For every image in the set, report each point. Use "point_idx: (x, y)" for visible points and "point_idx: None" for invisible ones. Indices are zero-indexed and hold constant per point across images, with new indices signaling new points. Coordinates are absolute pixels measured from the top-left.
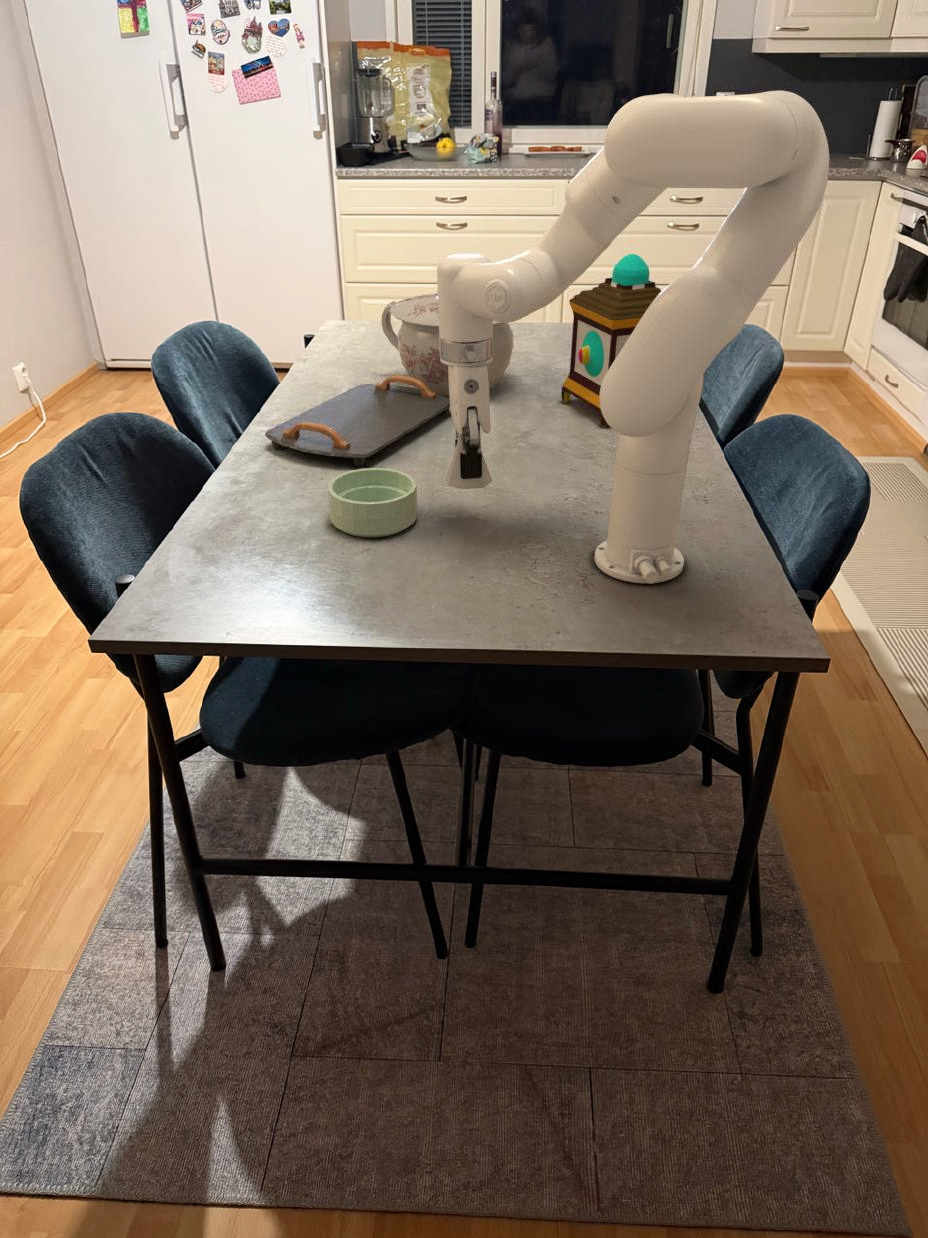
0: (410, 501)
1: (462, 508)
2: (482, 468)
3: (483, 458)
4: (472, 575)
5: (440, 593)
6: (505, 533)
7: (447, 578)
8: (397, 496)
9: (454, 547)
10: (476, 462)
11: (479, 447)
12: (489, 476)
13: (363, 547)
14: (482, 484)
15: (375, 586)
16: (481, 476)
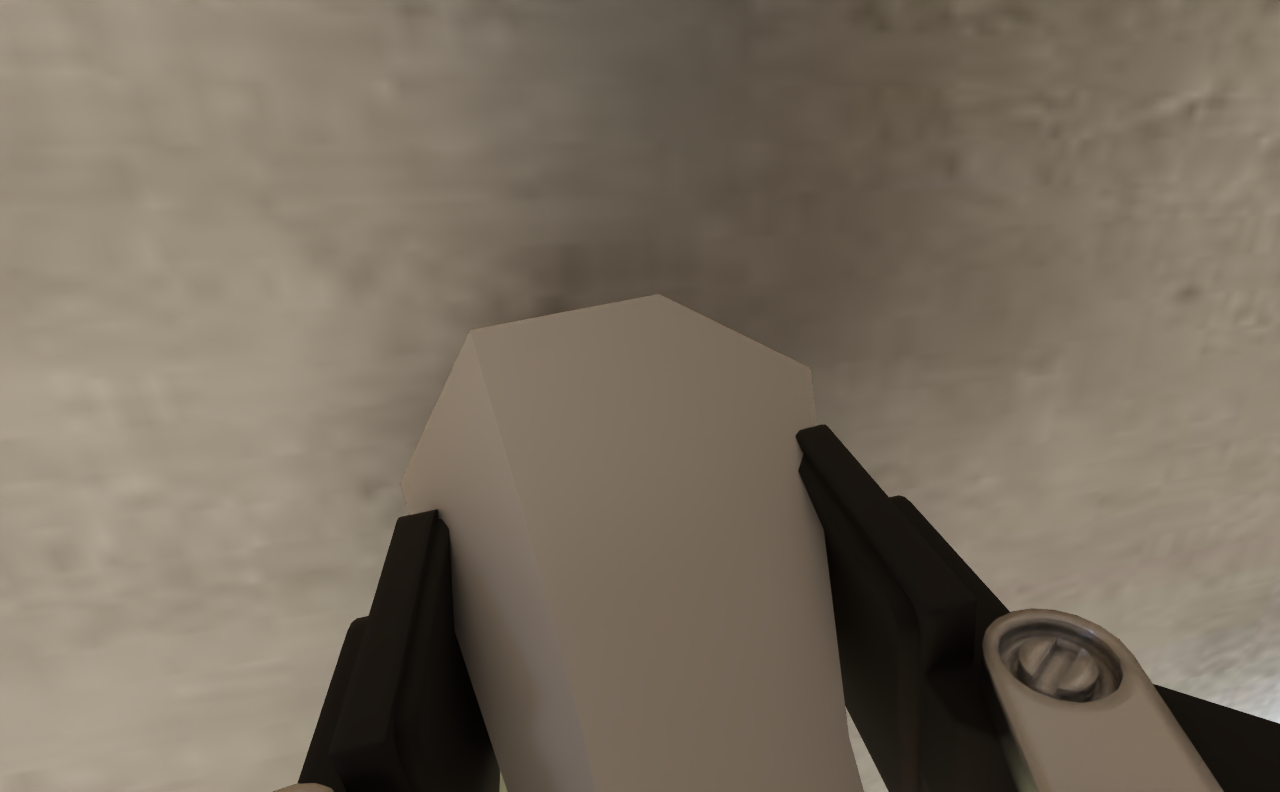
0: None
1: (409, 410)
2: (767, 451)
3: (707, 496)
4: (1171, 293)
5: (1271, 414)
6: (743, 124)
7: (1166, 401)
8: None
9: (891, 402)
10: (967, 574)
11: (1145, 706)
12: (682, 338)
13: (855, 739)
14: (810, 385)
15: (1152, 637)
16: (822, 427)
